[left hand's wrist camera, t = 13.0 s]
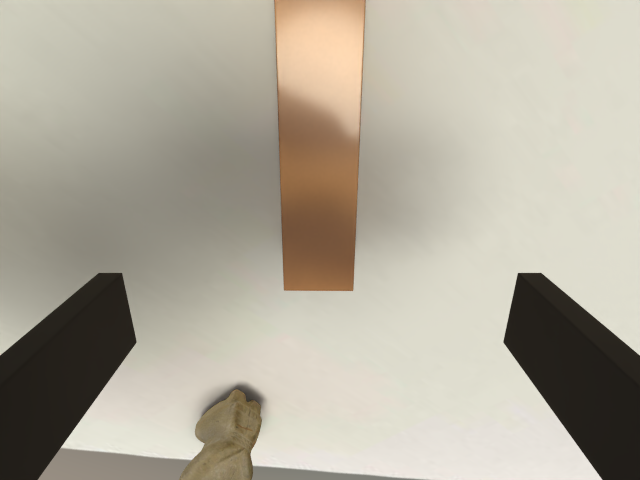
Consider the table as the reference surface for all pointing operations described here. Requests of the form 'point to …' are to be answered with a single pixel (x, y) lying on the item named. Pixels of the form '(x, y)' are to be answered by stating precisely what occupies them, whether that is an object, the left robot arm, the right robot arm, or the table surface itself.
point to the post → (319, 138)
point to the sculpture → (226, 440)
